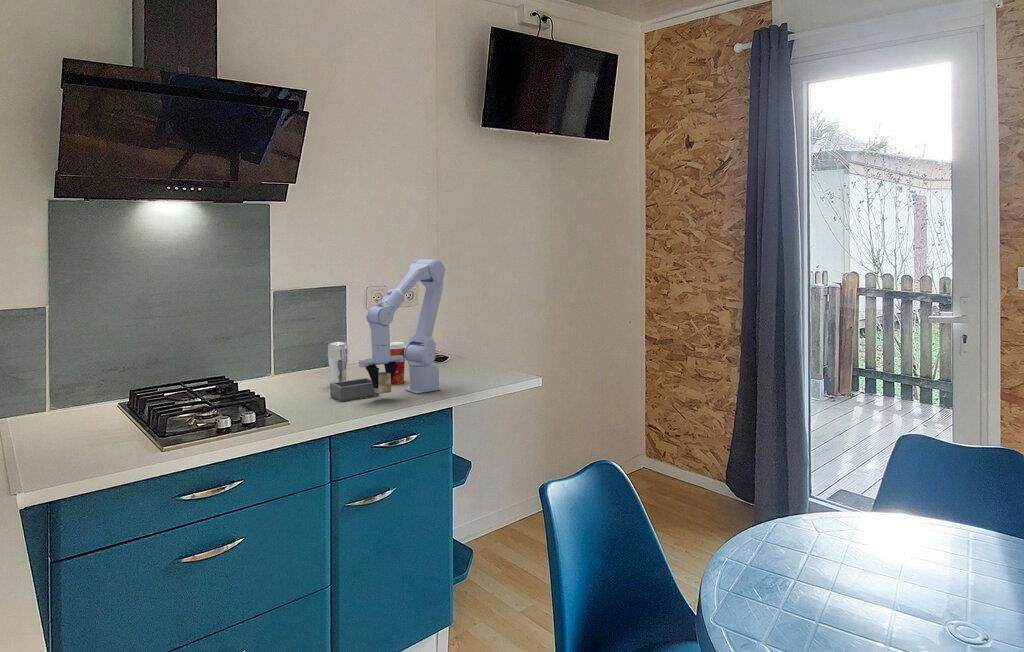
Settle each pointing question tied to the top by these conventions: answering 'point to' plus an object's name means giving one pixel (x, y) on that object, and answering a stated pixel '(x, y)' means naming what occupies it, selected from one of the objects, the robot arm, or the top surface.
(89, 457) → the top surface
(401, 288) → the robot arm
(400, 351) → the paper cup
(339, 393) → the grey rectangular open box
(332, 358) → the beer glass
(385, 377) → the birch block
